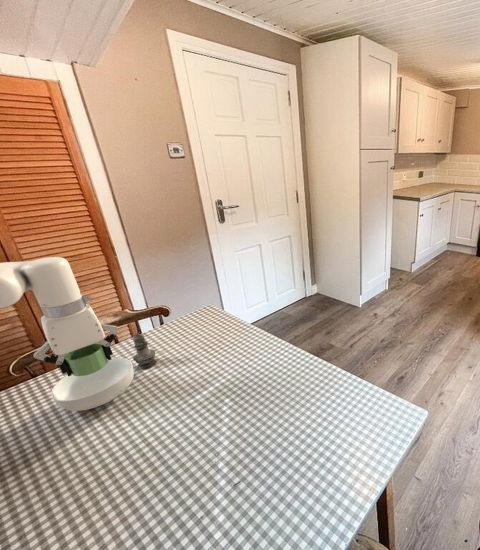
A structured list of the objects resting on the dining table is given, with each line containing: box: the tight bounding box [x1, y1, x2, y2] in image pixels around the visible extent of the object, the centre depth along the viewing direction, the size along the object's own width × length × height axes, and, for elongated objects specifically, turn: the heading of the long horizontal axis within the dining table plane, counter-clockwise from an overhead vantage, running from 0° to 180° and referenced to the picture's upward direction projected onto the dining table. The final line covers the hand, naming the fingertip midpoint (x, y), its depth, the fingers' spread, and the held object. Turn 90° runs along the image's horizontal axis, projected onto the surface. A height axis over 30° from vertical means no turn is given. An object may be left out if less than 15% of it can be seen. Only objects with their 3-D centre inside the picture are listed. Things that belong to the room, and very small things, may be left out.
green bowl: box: [64, 342, 108, 376], centre depth 80 cm, size 7×7×6 cm
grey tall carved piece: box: [132, 332, 158, 371], centre depth 95 cm, size 6×6×12 cm
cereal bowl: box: [50, 357, 135, 412], centre depth 83 cm, size 17×17×7 cm
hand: (89, 365), depth 81 cm, fingers closed on green bowl, 7 cm apart
